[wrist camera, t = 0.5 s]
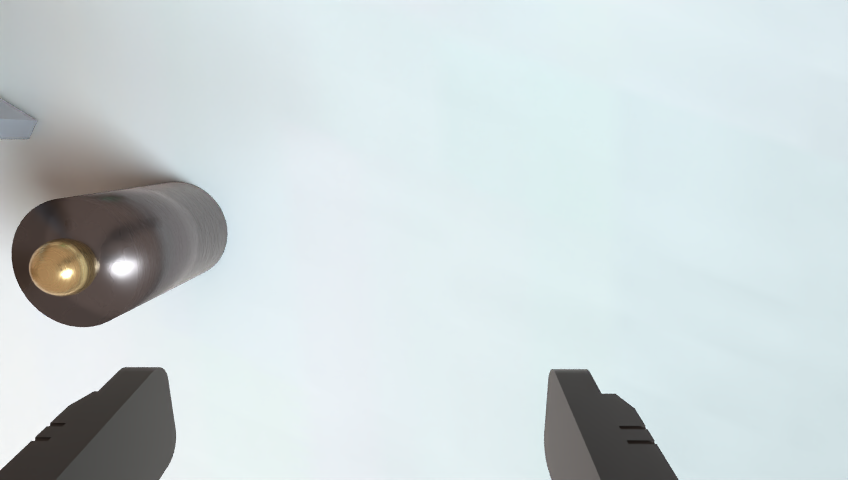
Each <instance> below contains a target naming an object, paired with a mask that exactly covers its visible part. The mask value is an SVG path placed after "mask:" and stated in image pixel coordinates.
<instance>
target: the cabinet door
mask: <svg viewBox="0 0 848 480" xmlns="http://www.w3.org/2000/svg"><path fill="white" fill-rule="evenodd" d="M36 122H37V120H36V119H34V118H32V117H31V116H29V115H27V114H26V113H24V112H23V111H21V110H19V109H18V108H16V107H14V106H13V105H11V104H9V103H8V102H6V101H5V100H3V99H1V98H0V139H29V138H30V136H31V133H32V131H33V129H34V127H35V125H36Z"/></svg>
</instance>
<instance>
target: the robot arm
mask: <svg viewBox="0 0 848 480" xmlns="http://www.w3.org/2000/svg"><path fill="white" fill-rule="evenodd" d="M175 443H176V429H175V423H174V416H173V409H172V402H171V396H170V389H169V382H168V376H167V373H166V372H165V370H164V369H163V368H160V367H125V368H122V369H121V370H119V371H118V372H117V373H116V374H115V375H114V376H113V377H112V378H111V379H110V380H109V381H108V382H107V383H106V384H105V385H104V386H103V387H102V388H101V389H100V390H99V391H94V392H92V393H90V394H89V395H87V396H85V397H83V398H82V399H80V400H78V401H76V402H75V403H73V404H71V405H69V406H68V407H67V408H66V409H65V410H64V411H63V412H62V413H61V414H59V415H58V416H57V417H56V418H55V419H54V420H53V421H52V422H51V423H50V426H47V427H46V428H45V429H44V430H43V431H41V432H40V433H39V434H38V435H37V436H36V437H35V441H31V442H30V443H29V444H28V445H27V446H26V447H25V448H24V449H22V450H21V451H20V452H19V453H18V454H17V455H16V456H15V457H14V458H13V459H12V460H11V461H10V462H9V463H8V464H7V465H6V466H4V467H3V468H2V469H1V470H0V480H159V479H160V477H161V476H162V474H163V473H164V471H165V470H166V468H167V467H168V465H169V463H170V461H171V459H172V456H173V453H174V449H175ZM544 446H545V456H546V462H547V466H548V470H549V473H550V476H551V480H678V478H677V477H676V475H675V473H674V472H673V470H672V468H671V467H670V465H669V464H668V462H667V460H666V459H665V457H664V455H663V454H662V452H661V451H660V449H659V447H658V446H657V444H655V443H654V439H653V438H652V436H651V434H650V433H649V431H648V429H646V428H645V425H644V423H643V421H642V420H641V418H640V416H639V415H638V413H637V412H636V410H635V408H633V407H632V406H631V405H629V404H628V403H627V402H625V401H624V400H623V399H621V398H620V397H619V396H618V395H616V394H601V392H600V390H599V388H598V387H597V385H596V383H595V381H594V379H593V377H592V375H591V374H590V372H589V371H588V370H587V369H552V370H551V371H550V373H549V379H548V391H547V404H546V418H545V431H544Z"/></svg>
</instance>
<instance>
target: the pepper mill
mask: <svg viewBox="0 0 848 480" xmlns="http://www.w3.org/2000/svg"><path fill="white" fill-rule="evenodd" d="M226 242H227V225H226V221H225V217H224V215H223V212H222V210H221V209H220V207H219V205H218V204H217V202H216V201H215V200H214V199H213V198H212V197H211V196H210V195H209V194H208V193H207V192H205V191H204V190H202V189H201V188H199V187H197V186H194V185H192V184H188V183H184V182H169V183H162V184H155V185H149V186H142V187H135V188H128V189H122V190H115V191H108V192H101V193H94V194H88V195H81V196H74V197H67V198H61V199H54V200H51V201H47V202H45V203H43V204H40V205H39V206H37V207H35V208H34V209H33V210H31V211H30V212H29V213H28V214H27V215H26V216H25V217H24V219H23V220H22V221H21V223H20V225H19V226H18V228H17V230H16V233H15V236H14V239H13V244H12V264H13V270H14V273H15V277H16V279H17V282H18V284H19V286H20V288H21V290H22V291H23V293H24V294H25V296H26V297H27V299H28V300H29V301H30V302H31V303H32V304H33V305H34V306H35V307H36V308H37V309H38V310H39V311H40V312H42V313H43V314H44V315H46V316H47V317H49V318H51V319H53V320H55V321H57V322H59V323H62V324H65V325H69V326H75V327H91V326H96V325H100V324H103V323H105V322H108V321H110V320H112V319H114V318H116V317H118V316H120V315H122V314H124V313H126V312H128V311H130V310H131V309H133V308H135V307H137V306H139V305H141V304H143V303H145V302H147V301H149V300H151V299H153V298H155V297H157V296H159V295H161V294H163V293H165V292H167V291H169V290H171V289H173V288H175V287H177V286H179V285H181V284H183V283H185V282H187V281H189V280H190V279H192V278H194V277H196V276H198V275H200V274H202V273H204V272H206V271H208V270H209V269H211V268H212V267H213V266H214V265H215V264H216V263H217V262H218V261H219V259H220V258H221V256H222V254H223V252H224V250H225V247H226Z"/></svg>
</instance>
